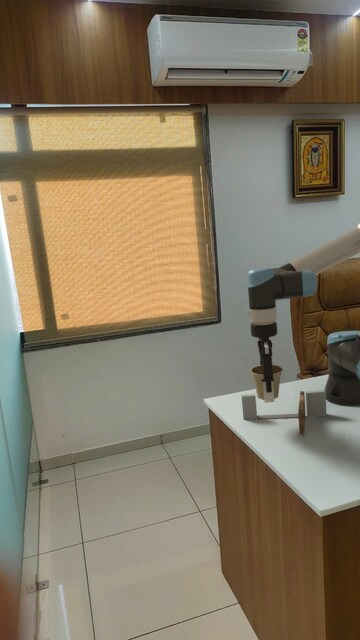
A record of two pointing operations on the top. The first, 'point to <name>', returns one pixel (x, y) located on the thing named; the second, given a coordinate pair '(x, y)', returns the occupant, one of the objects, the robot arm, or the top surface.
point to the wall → (313, 407)
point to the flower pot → (258, 376)
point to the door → (302, 413)
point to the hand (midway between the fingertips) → (268, 395)
